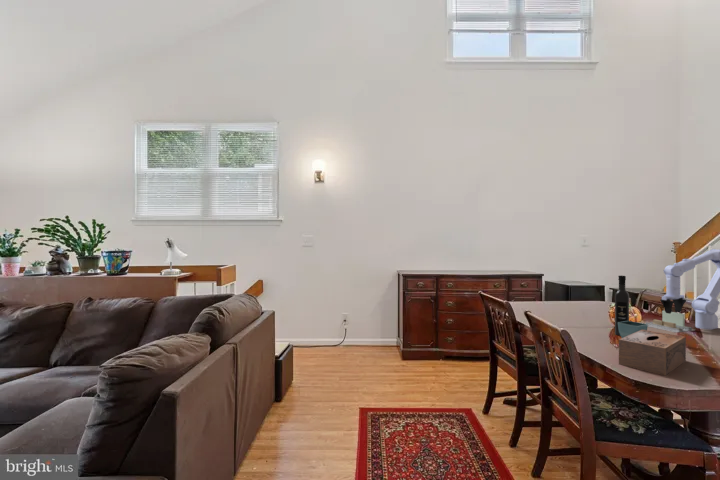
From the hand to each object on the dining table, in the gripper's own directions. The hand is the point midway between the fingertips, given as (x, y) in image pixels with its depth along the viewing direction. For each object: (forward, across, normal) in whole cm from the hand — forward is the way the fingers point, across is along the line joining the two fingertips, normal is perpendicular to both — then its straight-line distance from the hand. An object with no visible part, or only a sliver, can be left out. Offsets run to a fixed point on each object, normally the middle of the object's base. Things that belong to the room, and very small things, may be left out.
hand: (673, 312), depth 197 cm
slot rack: (+9, +3, 0) cm, 9 cm away
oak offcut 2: (+8, +7, +3) cm, 11 cm away
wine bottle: (+9, +37, 0) cm, 38 cm away
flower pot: (+9, +45, +11) cm, 48 cm away
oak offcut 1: (+8, +7, -3) cm, 11 cm away
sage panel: (+8, 0, 0) cm, 8 cm away
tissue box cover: (+9, +66, +34) cm, 75 cm away
